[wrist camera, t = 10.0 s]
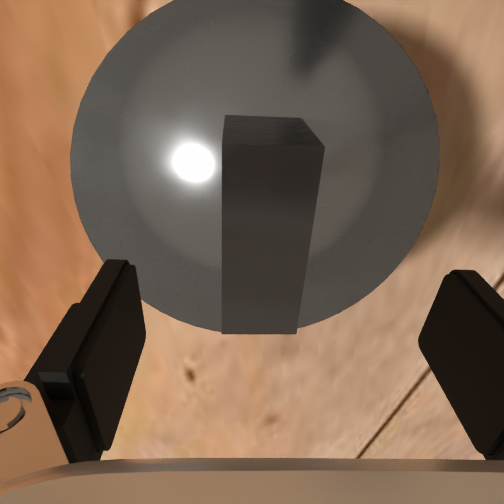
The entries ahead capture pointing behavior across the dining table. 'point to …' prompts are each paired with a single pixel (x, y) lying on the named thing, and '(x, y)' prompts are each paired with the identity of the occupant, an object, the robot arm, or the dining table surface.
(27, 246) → the dining table surface
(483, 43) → the dining table surface
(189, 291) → the lid
